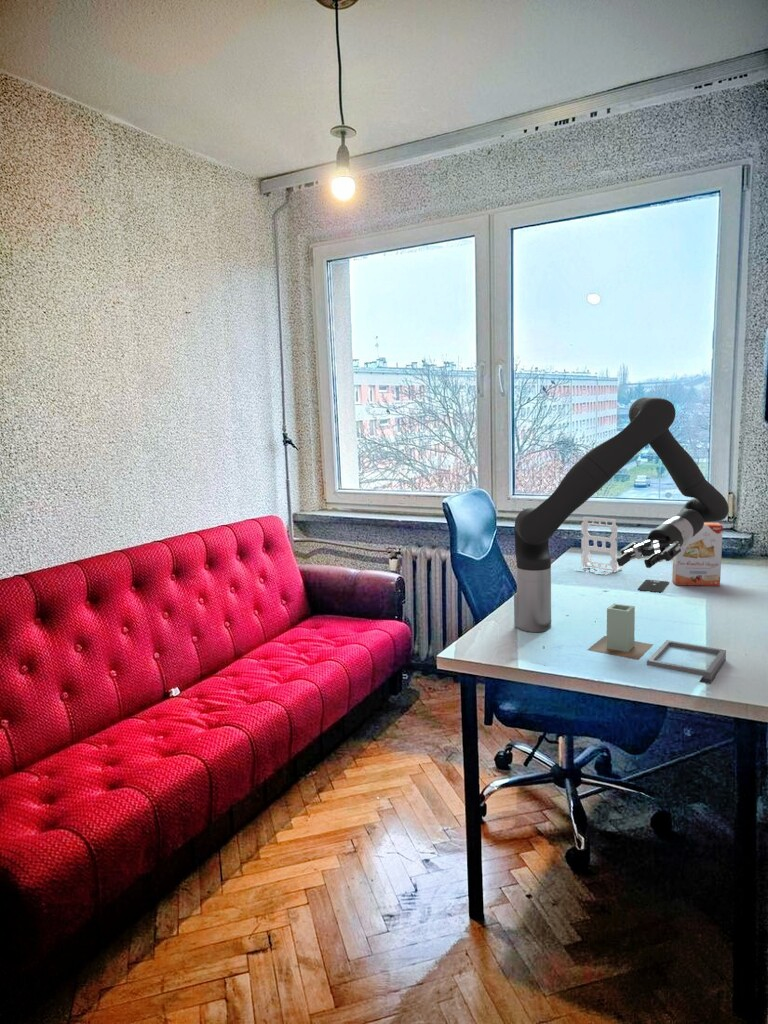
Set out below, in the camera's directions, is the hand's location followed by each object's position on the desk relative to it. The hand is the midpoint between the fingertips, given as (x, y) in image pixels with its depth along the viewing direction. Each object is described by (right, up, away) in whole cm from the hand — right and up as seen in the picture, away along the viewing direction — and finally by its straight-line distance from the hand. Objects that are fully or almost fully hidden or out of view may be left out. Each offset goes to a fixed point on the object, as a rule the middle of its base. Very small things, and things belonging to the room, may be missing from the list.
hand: (632, 563), depth 156 cm
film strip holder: (+19, -9, +80) cm, 83 cm away
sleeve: (-5, -20, -4) cm, 21 cm away
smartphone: (+29, -13, +54) cm, 63 cm away
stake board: (-5, -21, -4) cm, 22 cm away
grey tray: (+7, -22, -14) cm, 27 cm away
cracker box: (+44, -12, +55) cm, 71 cm away
